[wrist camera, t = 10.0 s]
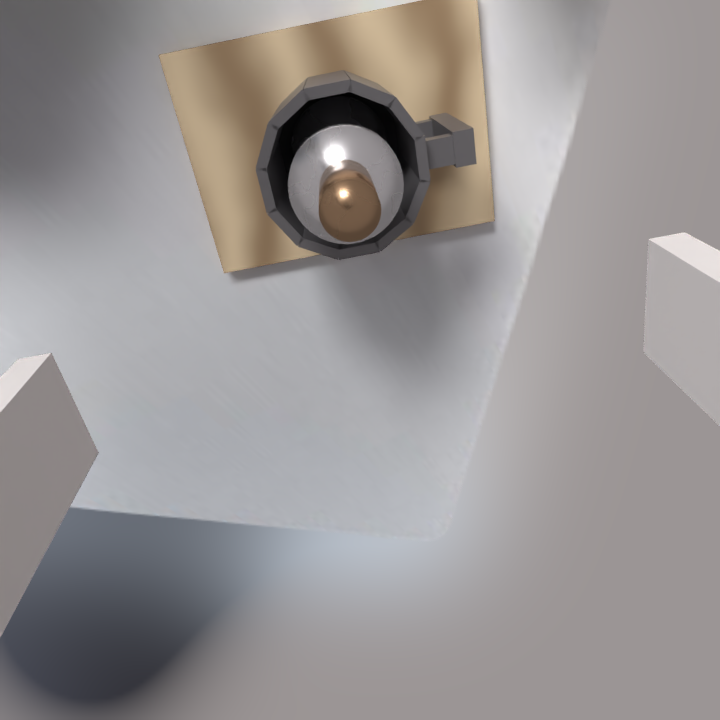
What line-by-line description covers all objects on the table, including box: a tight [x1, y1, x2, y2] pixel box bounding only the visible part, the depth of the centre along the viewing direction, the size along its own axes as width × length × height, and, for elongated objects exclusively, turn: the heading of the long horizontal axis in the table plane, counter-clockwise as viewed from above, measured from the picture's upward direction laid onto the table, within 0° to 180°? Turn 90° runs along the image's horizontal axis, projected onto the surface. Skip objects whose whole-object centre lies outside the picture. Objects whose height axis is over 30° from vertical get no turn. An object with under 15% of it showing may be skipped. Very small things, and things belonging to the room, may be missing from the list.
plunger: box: [288, 96, 404, 244], centre depth 36 cm, size 7×7×19 cm
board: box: [159, 0, 495, 273], centre depth 46 cm, size 22×16×1 cm
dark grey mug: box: [255, 70, 477, 260], centre depth 40 cm, size 12×10×12 cm
